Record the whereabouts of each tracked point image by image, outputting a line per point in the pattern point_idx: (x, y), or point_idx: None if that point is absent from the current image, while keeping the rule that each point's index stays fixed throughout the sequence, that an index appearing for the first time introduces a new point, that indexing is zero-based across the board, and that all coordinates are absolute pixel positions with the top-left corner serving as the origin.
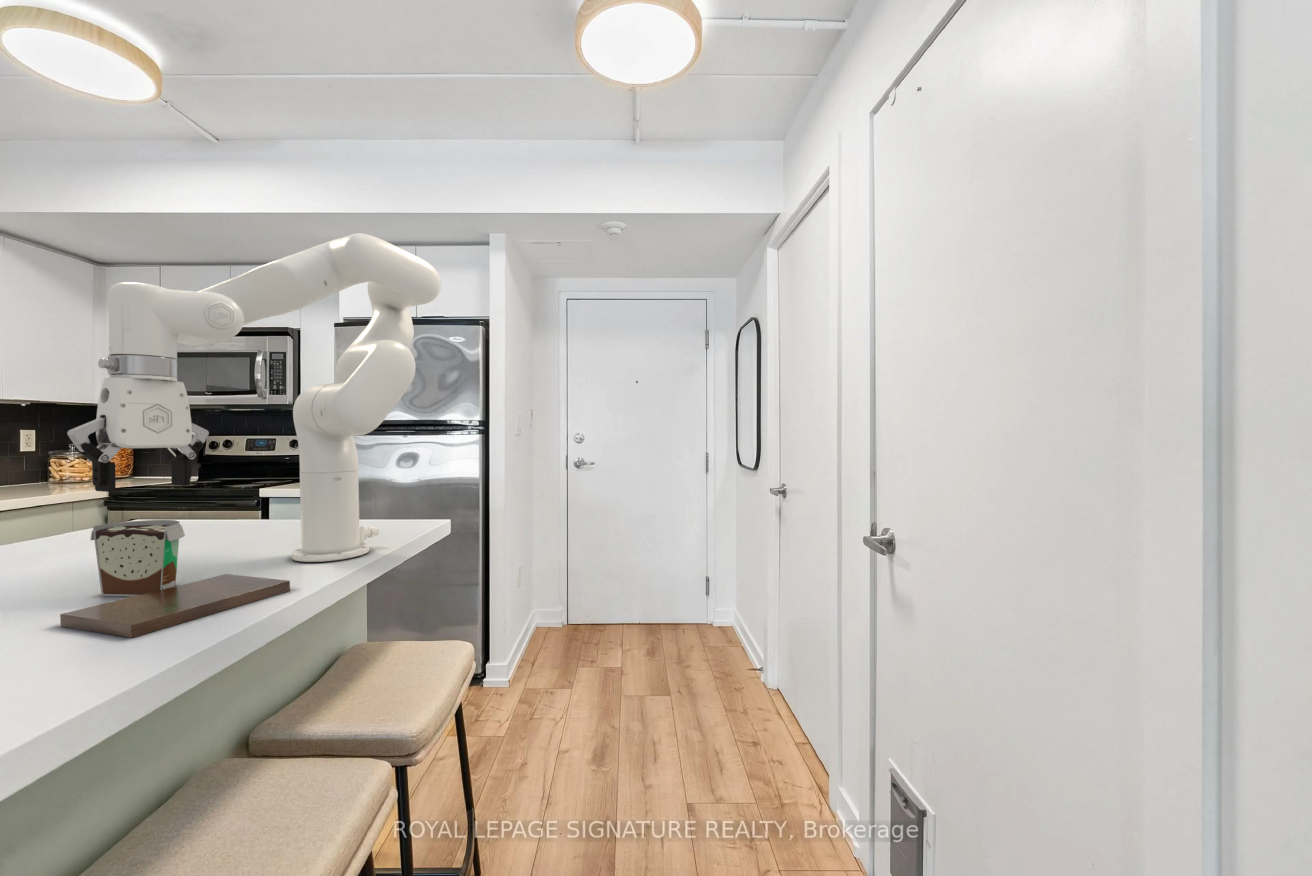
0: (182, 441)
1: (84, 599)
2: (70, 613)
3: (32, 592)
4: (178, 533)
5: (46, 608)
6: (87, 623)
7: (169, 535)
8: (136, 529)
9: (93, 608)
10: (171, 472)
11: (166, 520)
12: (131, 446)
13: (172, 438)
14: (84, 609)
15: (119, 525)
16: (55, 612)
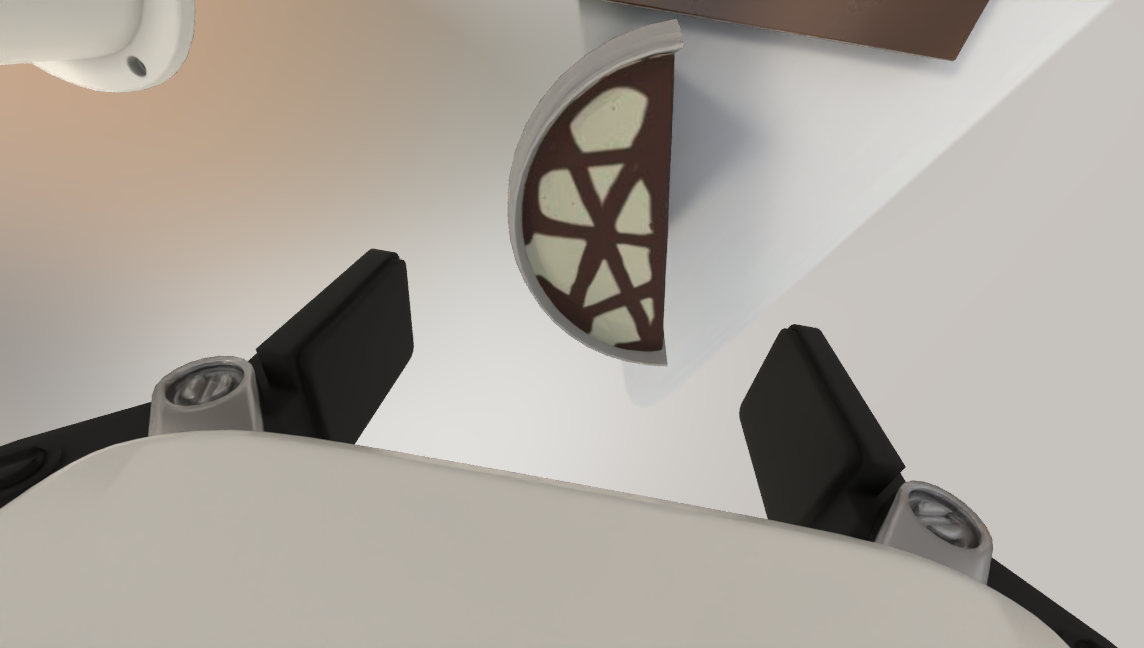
0: (194, 479)
1: (681, 252)
2: (956, 32)
3: (637, 392)
4: (611, 45)
5: (751, 262)
6: None
7: (669, 28)
8: (653, 222)
9: (910, 13)
10: (383, 399)
11: (515, 238)
12: (892, 549)
13: (320, 556)
14: (916, 33)
15: (597, 342)
16: (787, 210)
